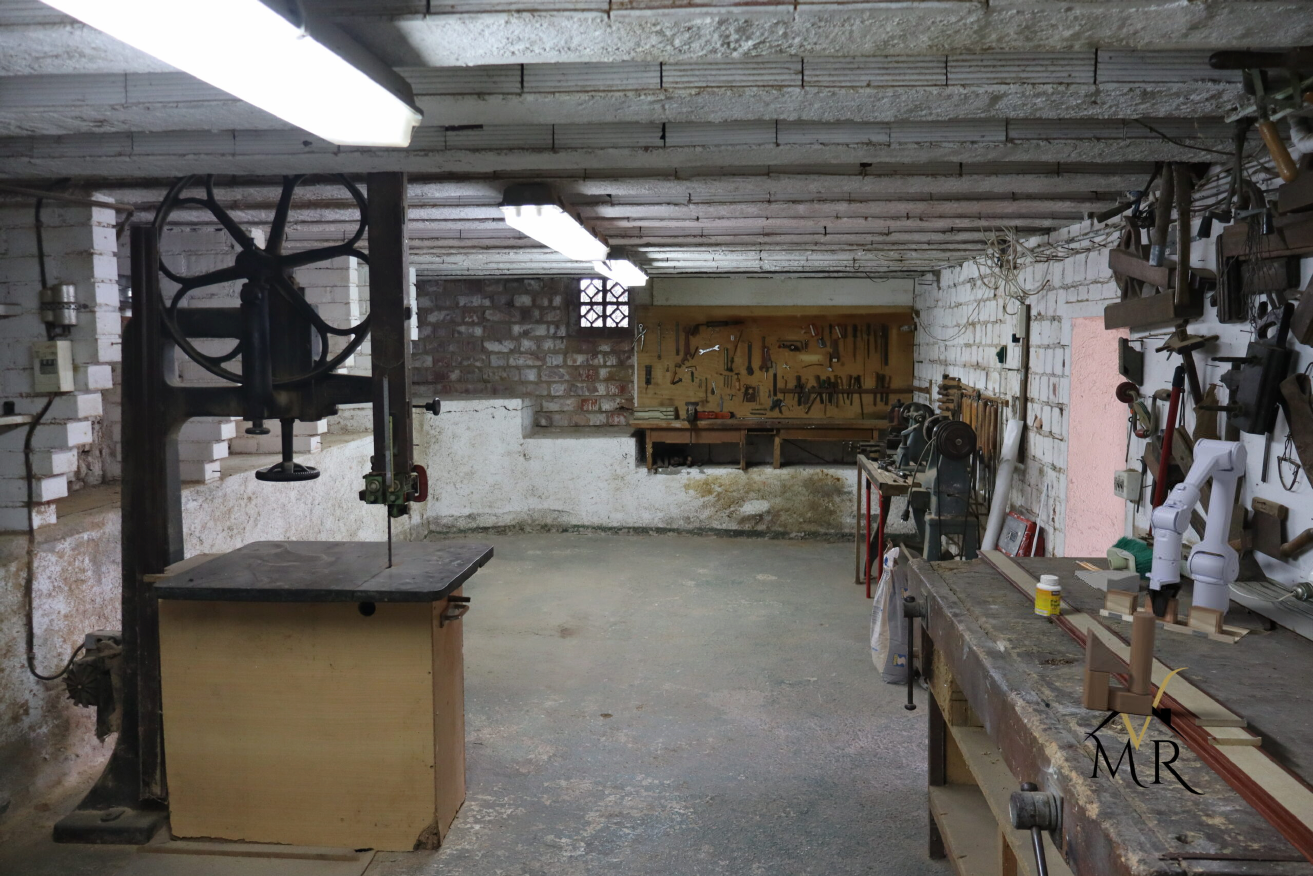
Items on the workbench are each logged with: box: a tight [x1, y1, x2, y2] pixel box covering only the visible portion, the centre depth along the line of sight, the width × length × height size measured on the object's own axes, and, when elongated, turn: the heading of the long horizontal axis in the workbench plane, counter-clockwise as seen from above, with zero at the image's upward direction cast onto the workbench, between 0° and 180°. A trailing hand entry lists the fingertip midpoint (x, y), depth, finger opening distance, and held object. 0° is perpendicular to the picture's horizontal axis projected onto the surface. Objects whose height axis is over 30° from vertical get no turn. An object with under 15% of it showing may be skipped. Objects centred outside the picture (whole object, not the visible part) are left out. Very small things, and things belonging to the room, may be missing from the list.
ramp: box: [1074, 569, 1141, 593], centre depth 250 cm, size 28×16×5 cm, turn 156°
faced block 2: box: [1187, 605, 1225, 634], centre depth 204 cm, size 4×6×6 cm
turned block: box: [1144, 594, 1180, 624], centre depth 210 cm, size 4×6×6 cm
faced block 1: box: [1104, 589, 1139, 616], centre depth 216 cm, size 4×6×6 cm
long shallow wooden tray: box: [1099, 606, 1251, 645], centre depth 212 cm, size 15×28×2 cm, turn 44°
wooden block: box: [1081, 611, 1156, 716], centre depth 160 cm, size 4×11×18 cm, turn 76°
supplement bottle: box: [1034, 574, 1062, 618], centre depth 216 cm, size 6×6×10 cm
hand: (1162, 614), depth 210 cm, fingers closed on turned block, 4 cm apart
